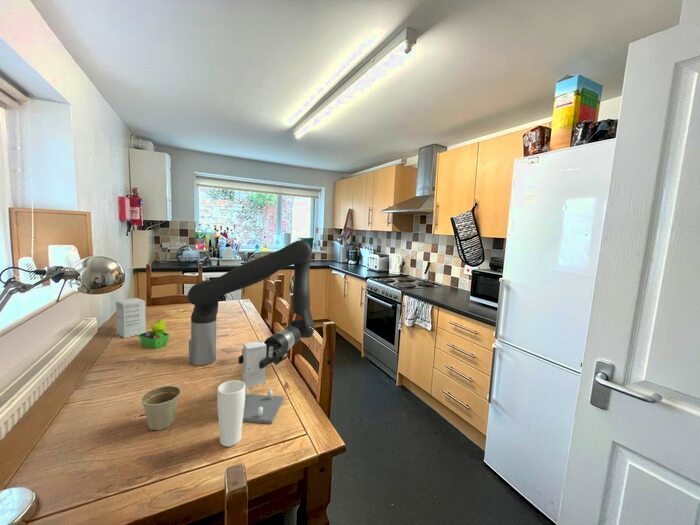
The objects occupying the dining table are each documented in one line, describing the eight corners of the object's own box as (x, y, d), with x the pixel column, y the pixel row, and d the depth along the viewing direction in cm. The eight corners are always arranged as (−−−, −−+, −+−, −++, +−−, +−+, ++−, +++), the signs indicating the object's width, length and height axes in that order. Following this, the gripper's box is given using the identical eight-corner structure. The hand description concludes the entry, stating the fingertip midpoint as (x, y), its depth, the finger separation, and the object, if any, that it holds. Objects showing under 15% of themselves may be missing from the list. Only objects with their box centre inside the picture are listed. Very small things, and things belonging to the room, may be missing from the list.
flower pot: (189, 417, 83) (189, 389, 82) (158, 439, 74) (157, 408, 73) (165, 409, 86) (165, 382, 85) (132, 429, 77) (132, 399, 76)
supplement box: (146, 333, 143) (146, 300, 141) (124, 338, 135) (123, 304, 133) (138, 329, 148) (137, 297, 146) (116, 333, 140) (115, 300, 138)
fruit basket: (137, 345, 128) (136, 321, 127) (156, 339, 137) (156, 316, 135) (154, 351, 124) (153, 325, 123) (173, 344, 132) (173, 320, 131)
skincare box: (245, 388, 84) (246, 348, 83) (242, 380, 88) (242, 343, 87) (266, 382, 88) (266, 345, 86) (261, 376, 92) (262, 340, 90)
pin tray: (217, 418, 83) (218, 407, 83) (236, 395, 95) (236, 385, 95) (271, 423, 82) (272, 412, 82) (283, 399, 94) (283, 389, 94)
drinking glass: (222, 431, 78) (222, 379, 77) (247, 431, 79) (248, 380, 77) (212, 450, 72) (213, 393, 70) (240, 449, 72) (241, 394, 71)
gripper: (262, 329, 102) (230, 347, 87) (298, 336, 98) (270, 355, 82) (262, 349, 103) (229, 370, 88) (297, 357, 99) (270, 380, 83)
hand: (249, 363), depth 85 cm, fingers closed on skincare box, 7 cm apart
